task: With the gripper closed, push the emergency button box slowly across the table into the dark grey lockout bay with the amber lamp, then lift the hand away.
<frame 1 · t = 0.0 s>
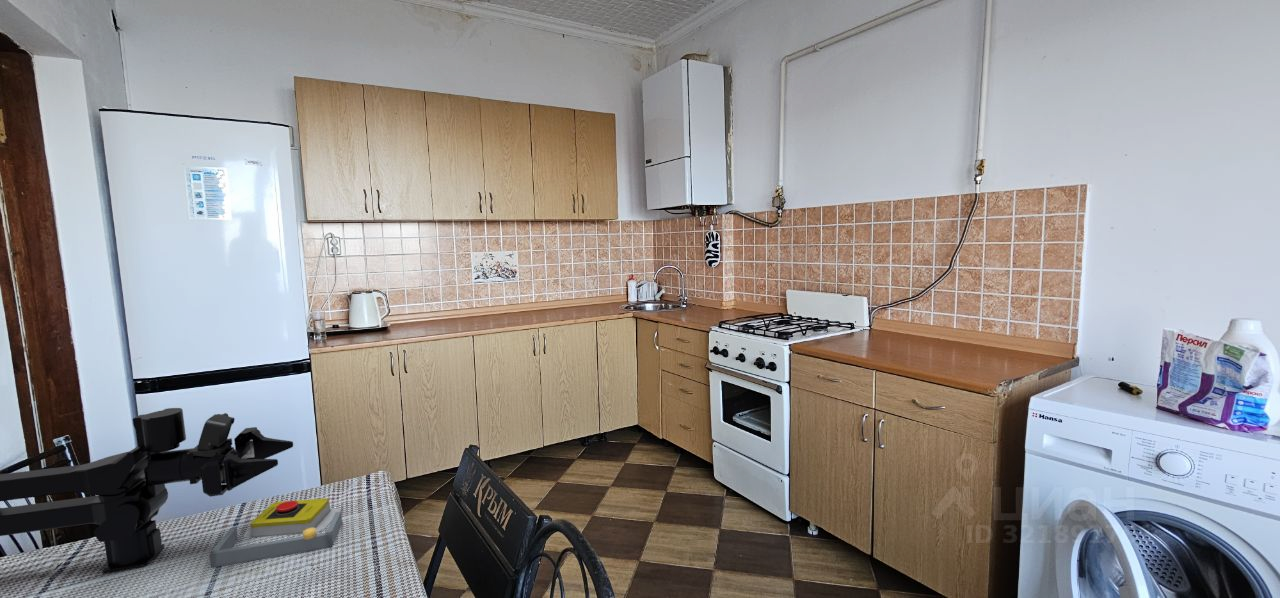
hand: (285, 452, 104), 17 cm above the table, tool horizontal, fingers open, 9 cm apart
emergency button: (294, 526, 111), on the table
lockout bay: (281, 542, 104), on the table
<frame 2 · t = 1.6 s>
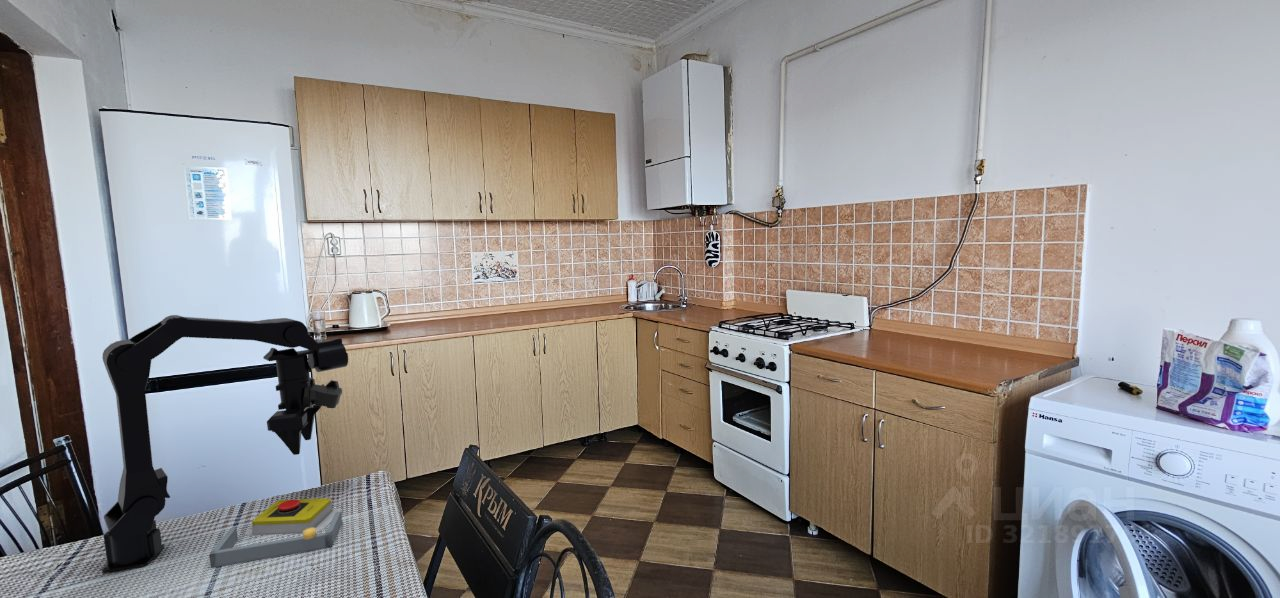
hand: (302, 446, 119), 12 cm above the table, tool pointing down, fingers open, 8 cm apart
nothing on the table moved.
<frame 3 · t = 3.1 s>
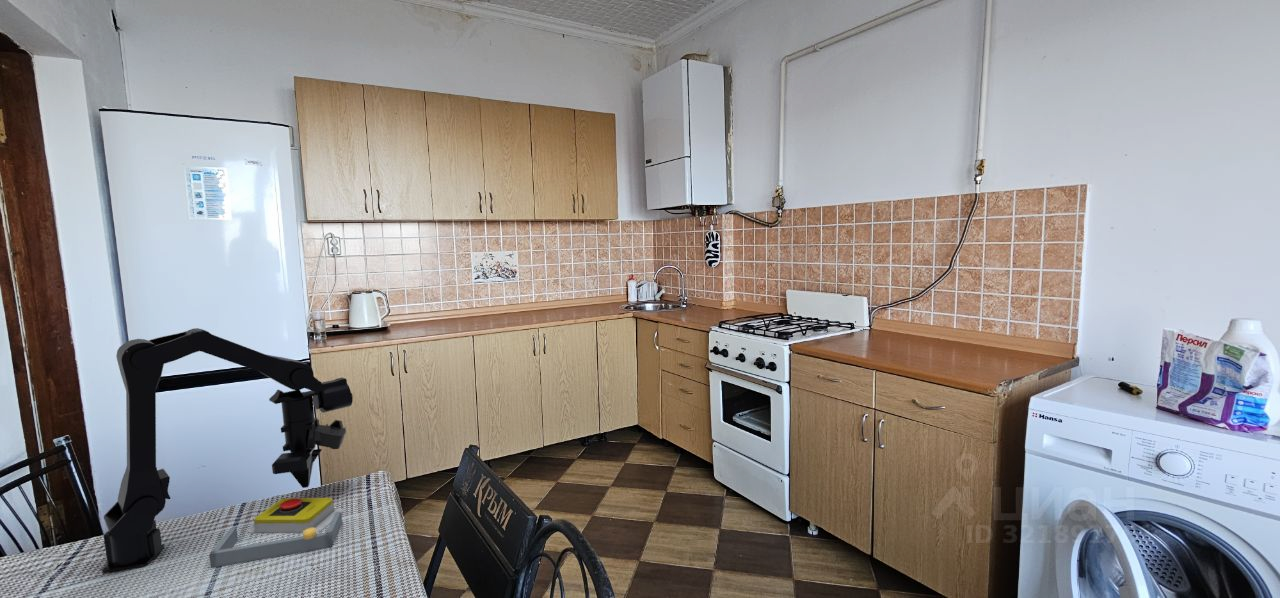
hand: (305, 486, 120), 3 cm above the table, tool pointing down, fingers closed
nothing on the table moved.
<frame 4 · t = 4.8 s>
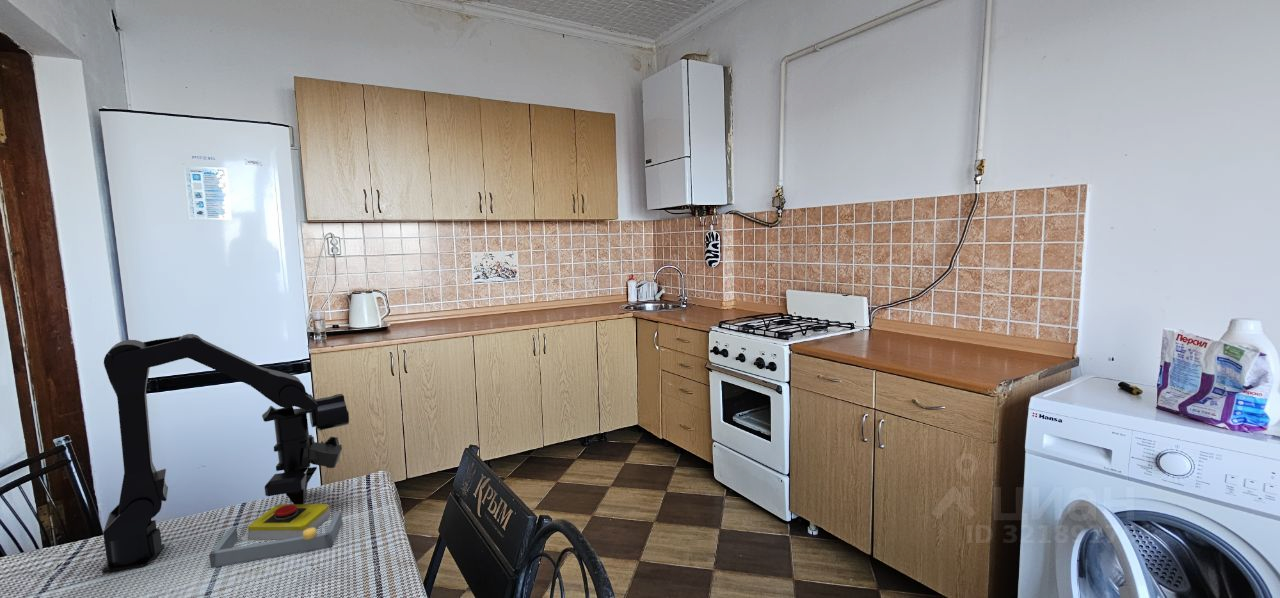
hand: (300, 507, 115), 1 cm above the table, tool pointing down, fingers closed
emergency button: (293, 530, 109), on the table
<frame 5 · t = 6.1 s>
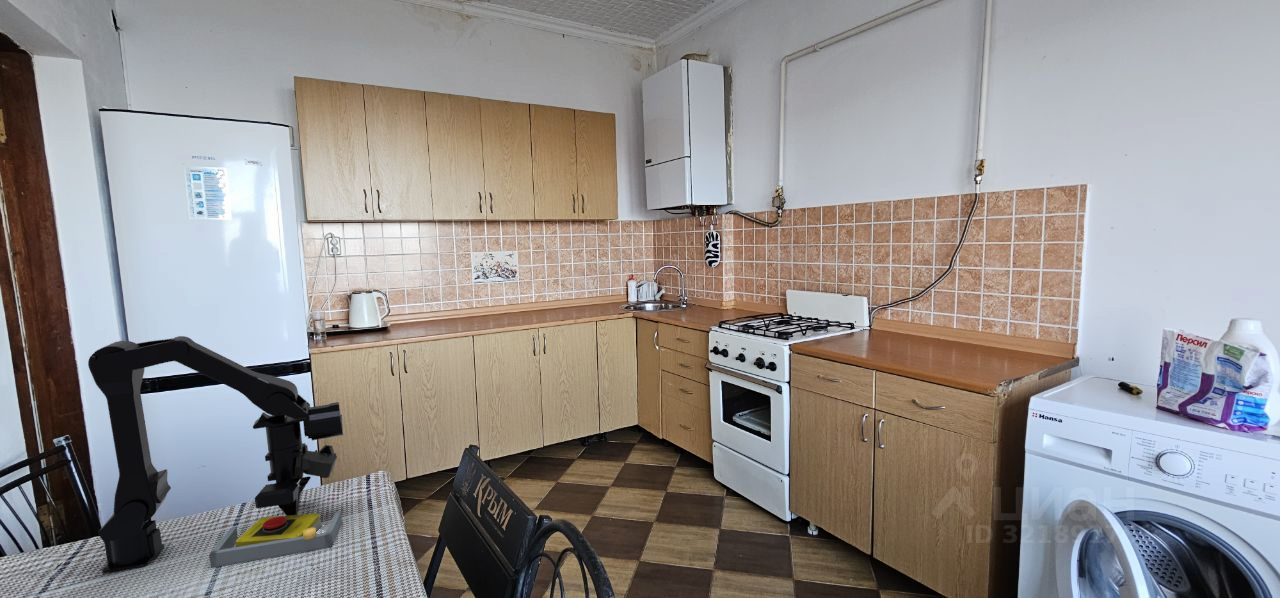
hand: (293, 518, 110), 1 cm above the table, tool pointing down, fingers closed
emergency button: (282, 543, 105), on the table
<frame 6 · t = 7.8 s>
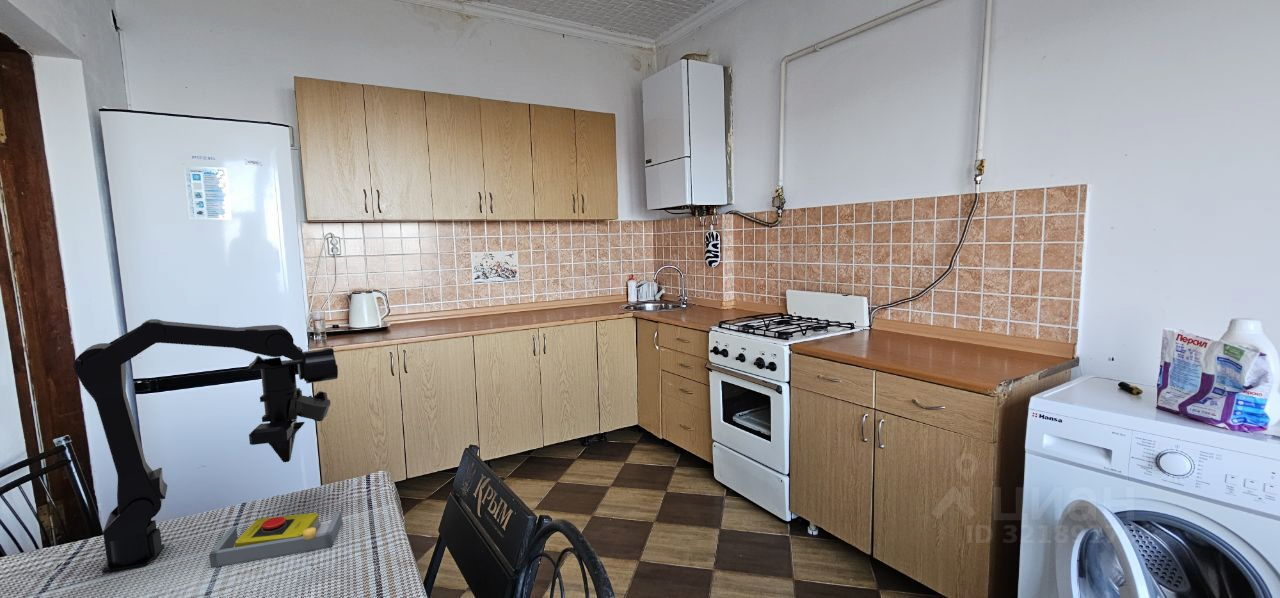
hand: (286, 461, 112), 12 cm above the table, tool pointing down, fingers closed
nothing on the table moved.
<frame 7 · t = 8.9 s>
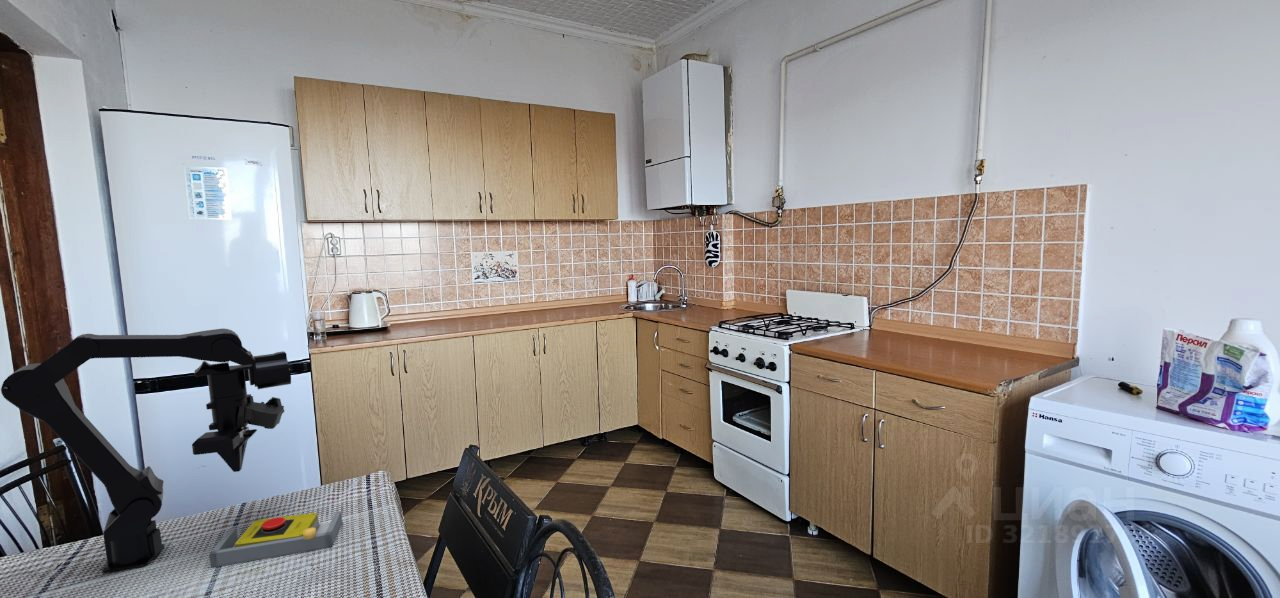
hand: (237, 470, 108), 12 cm above the table, tool pointing down, fingers closed
nothing on the table moved.
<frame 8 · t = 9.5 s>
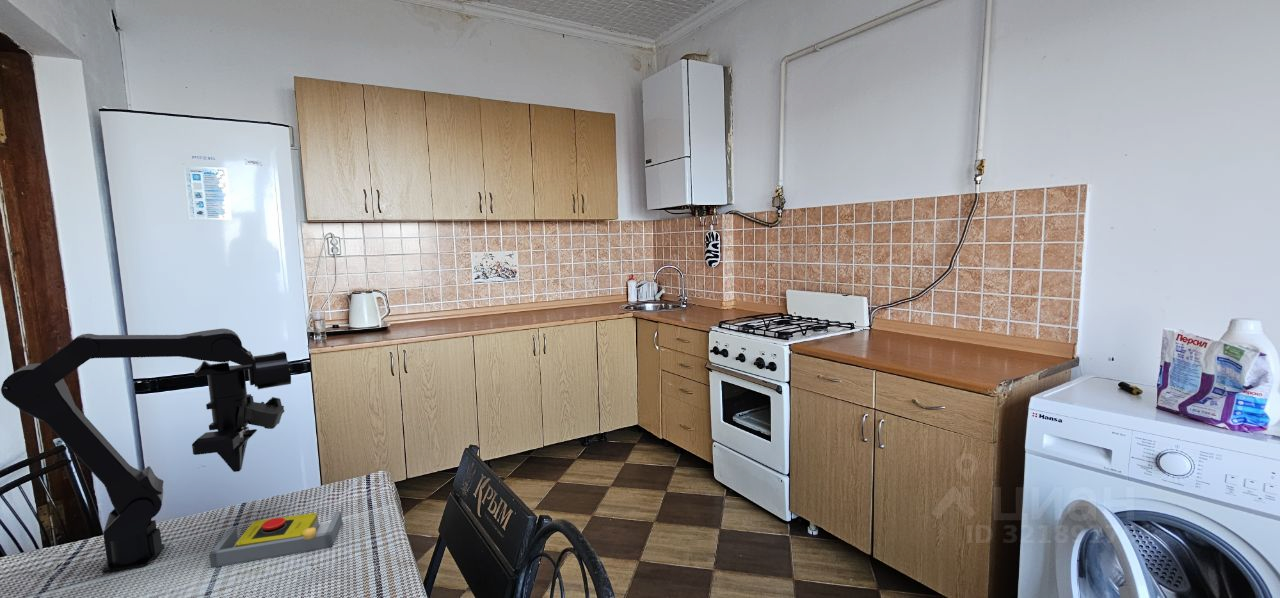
hand: (237, 470, 108), 12 cm above the table, tool pointing down, fingers closed
nothing on the table moved.
at the end: emergency button 0.4 cm from the target spot, on the table; emergency button moved 6.9 cm from its start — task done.
